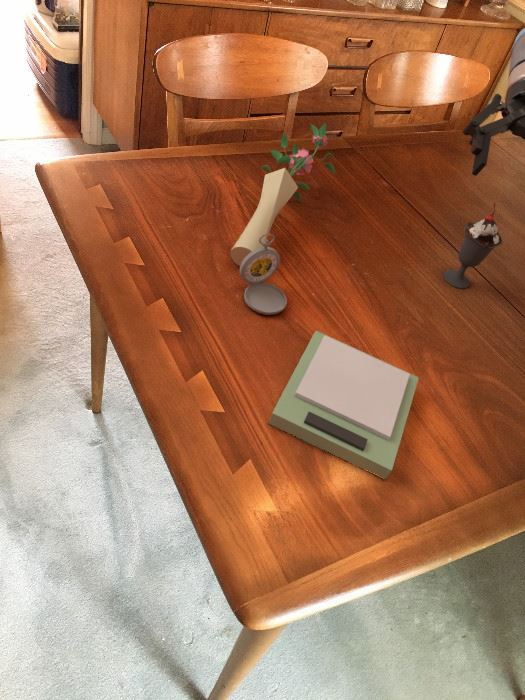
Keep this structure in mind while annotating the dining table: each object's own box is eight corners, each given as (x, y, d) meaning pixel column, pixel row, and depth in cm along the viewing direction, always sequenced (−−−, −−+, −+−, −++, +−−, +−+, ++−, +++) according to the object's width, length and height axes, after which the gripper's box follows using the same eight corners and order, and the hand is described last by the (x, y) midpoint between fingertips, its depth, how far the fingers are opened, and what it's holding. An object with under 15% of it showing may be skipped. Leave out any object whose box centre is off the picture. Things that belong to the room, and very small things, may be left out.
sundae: (453, 263, 104) (494, 194, 93) (480, 286, 101) (526, 217, 90) (431, 272, 100) (471, 201, 89) (458, 296, 97) (503, 225, 86)
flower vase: (220, 288, 97) (282, 162, 114) (287, 299, 93) (340, 168, 111) (204, 238, 87) (275, 110, 105) (278, 248, 83) (338, 113, 101)
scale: (412, 387, 80) (421, 373, 78) (384, 480, 68) (394, 467, 66) (311, 341, 82) (317, 326, 80) (267, 423, 70) (273, 409, 68)
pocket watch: (272, 323, 83) (289, 272, 75) (225, 297, 84) (237, 244, 77) (296, 295, 88) (314, 245, 81) (251, 271, 90) (265, 220, 82)
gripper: (574, 140, 101) (568, 230, 92) (452, 82, 98) (433, 170, 89) (608, 109, 94) (604, 203, 85) (478, 46, 91) (460, 137, 82)
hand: (517, 187), depth 87 cm, fingers open, 13 cm apart
